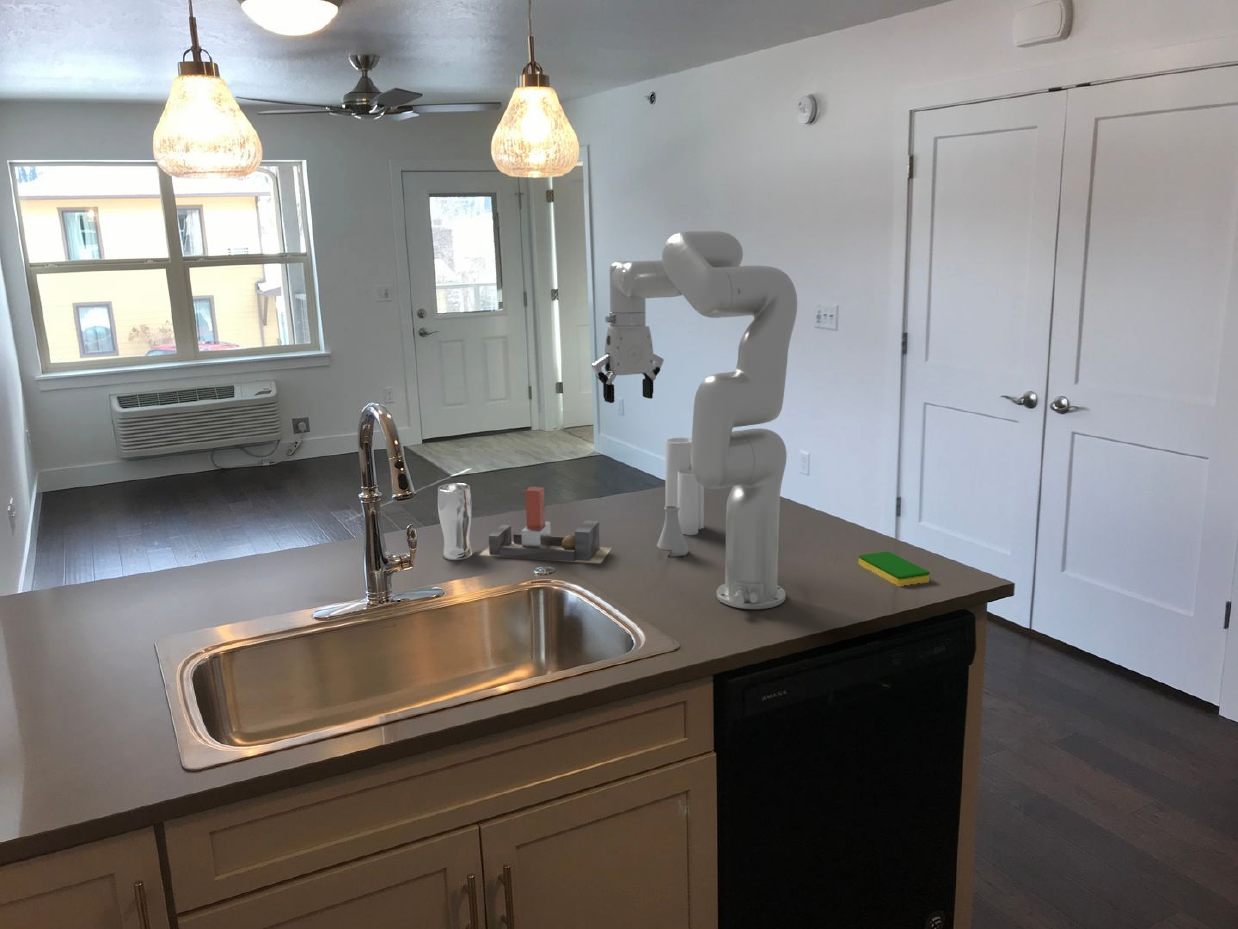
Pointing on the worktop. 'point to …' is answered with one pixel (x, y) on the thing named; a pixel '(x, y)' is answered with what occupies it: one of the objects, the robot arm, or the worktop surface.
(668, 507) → the flask
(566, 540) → the walnut
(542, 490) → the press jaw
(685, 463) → the vase
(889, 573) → the dish sponge
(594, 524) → the cracker board
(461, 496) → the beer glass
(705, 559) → the worktop surface
